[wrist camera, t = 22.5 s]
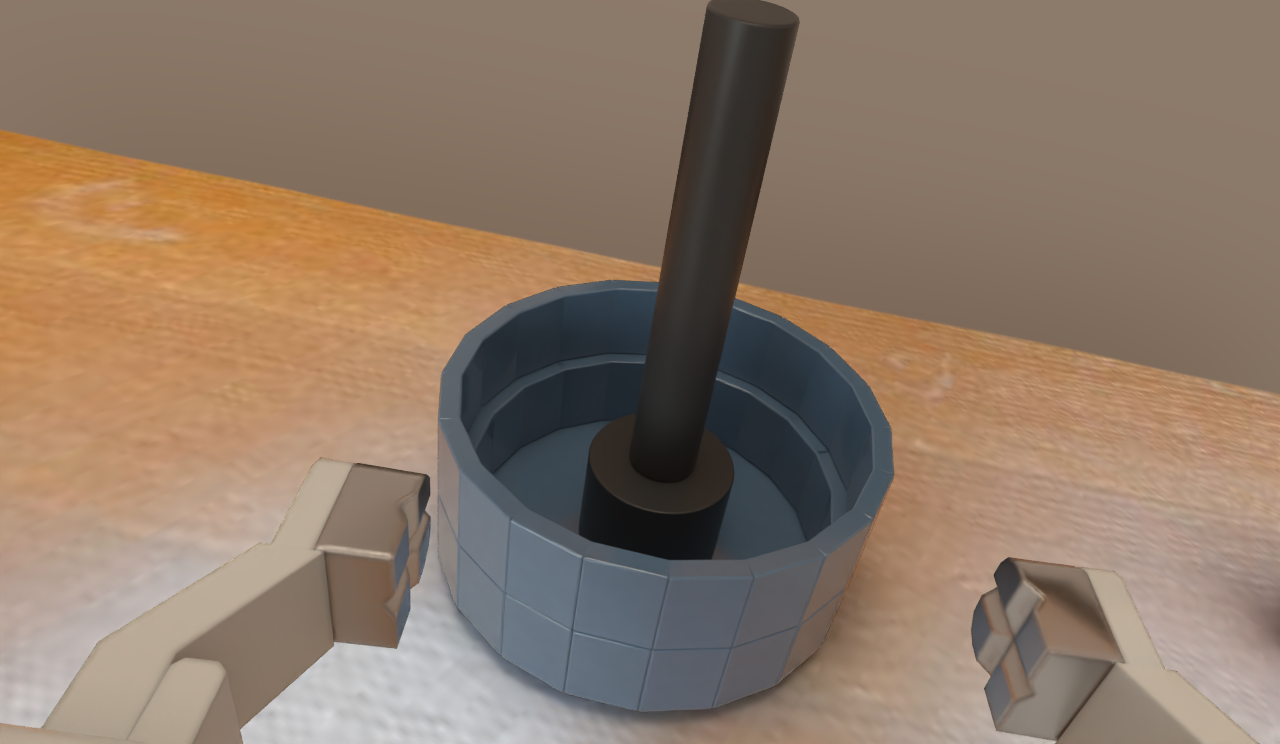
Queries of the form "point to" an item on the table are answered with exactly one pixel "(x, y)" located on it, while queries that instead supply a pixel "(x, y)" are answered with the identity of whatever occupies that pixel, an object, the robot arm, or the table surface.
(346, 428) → the table surface
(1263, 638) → the table surface
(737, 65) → the black rod with base
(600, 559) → the bowl
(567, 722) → the table surface
